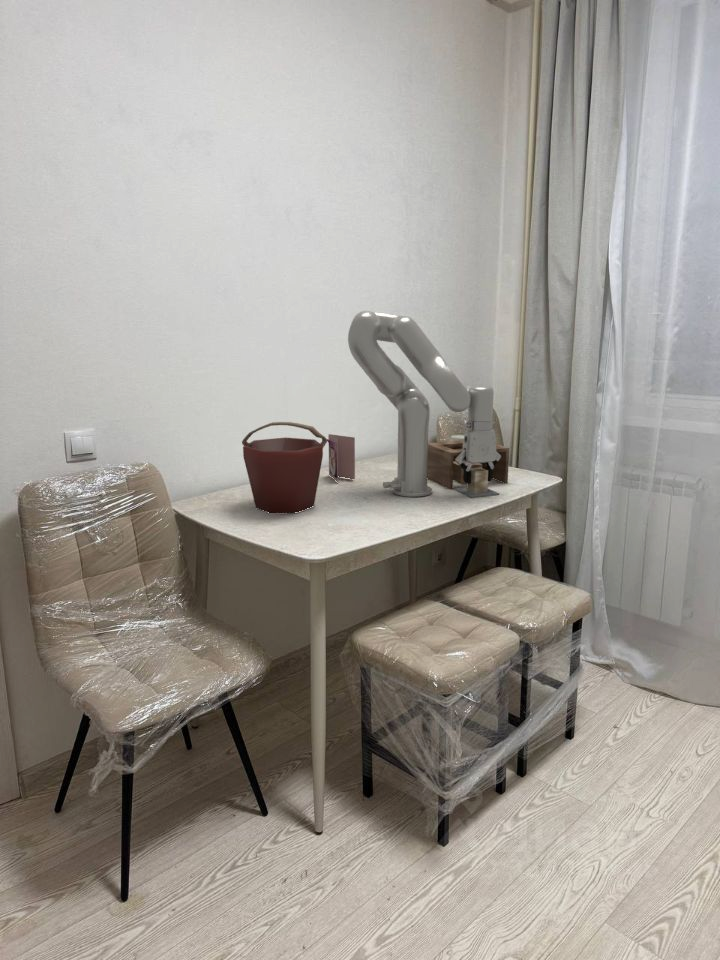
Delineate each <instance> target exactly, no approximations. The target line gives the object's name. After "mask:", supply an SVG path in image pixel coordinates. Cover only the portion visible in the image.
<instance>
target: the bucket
mask: <svg viewBox="0 0 720 960" xmlns="http://www.w3.org/2000/svg"><path fill="white" fill-rule="evenodd" d="M272 426H274V427H275V426H290V427H296V428H299V429H302V430H303V429H304V430H308V431H309V432H310V433H311V434H312V435H313V436H314V437H315V438H318V439H321V442H318V441H317V440H316V439H313V438H311V439H310V438H299V437H298V438H296V437H287V436H286V437H276V438H266V439H265V438H264V439H255V440H253V441H251V442H248V440H249V438H251V436H252V435H254V434H255V433H257V432H259V431H260V430H263V429H266V428H269V427H272ZM328 440H329V439H328ZM328 440H327V438H326V436H324V435H323V434H321V432H319V431H318V430H317V429H316V428H315V427H314V426H312V425H308V424H303V423H298V422H291V421H274V422H271V423H270V422H269V423H268V424H264V425H262V426H260V427H257V428H255V429H254V430H251V431H250V432H248V434H247V435H246V436H244V438H243V439H242V440H241V444H242V446H243V447H242V454H243V461H244V465H245V468H246V473H247V476H248V481H249V484H250V488H251V493H252V497H253V500H254V505H255V509H256V508H259V509H261V510H260V511H262V510H264V511H263V512H265V511H267V512H269V513H268V514H270V513H287V514H296V513H295V512H299V511H302V510H305V509H307V508H310V507H312V506H314V507H315V503H316V502H315V501H316V496H317V491H318V485H319V478H320V473H321V470H322V463H323V457H324V450H323V449H324V447H325V446H326V444H328ZM259 509H258V510H259ZM310 509H311V508H310ZM305 511H306V510H305ZM267 512H266V513H267ZM302 512H303V511H302ZM299 513H300V512H299Z"/></svg>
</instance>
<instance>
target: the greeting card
mask: <svg viewBox="0 0 720 960" xmlns="http://www.w3.org/2000/svg"><path fill="white" fill-rule="evenodd" d="M355 438H356V437H353V436H348V435H347V436H346V435H339V434H331V433H328V439H327V438H326V439H327V440H328V441H327V444H328V476H329V475H330V476H331V477H333V478H334V479H335V480H336V481H337V482H338V483H339V478H338V476H339V477H345V478H350V479H355V480H356V464H355V463H356V454H355V453H356V452H355V450H356V448H355V447H356V444H355V443H356V440H355ZM331 477H330V478H331ZM337 482H336V483H337Z"/></svg>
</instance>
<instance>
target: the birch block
mask: <svg viewBox="0 0 720 960" xmlns="http://www.w3.org/2000/svg"><path fill="white" fill-rule="evenodd" d="M470 471H471V483H470V484H468V483H467V488H468V491H471V492H473V493H483V492H487V488H488V487H489V486H488V483H489V481H488V470H486V469H483V468H471V469H470Z"/></svg>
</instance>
